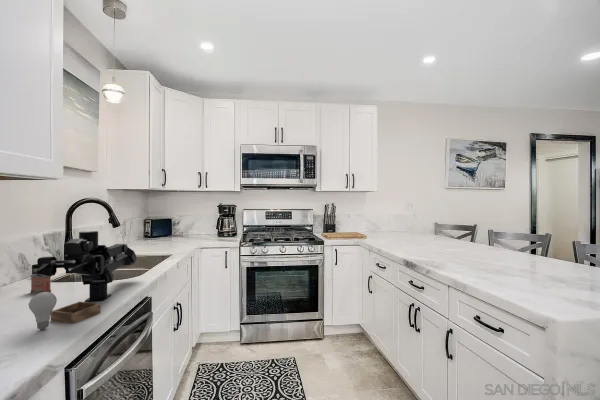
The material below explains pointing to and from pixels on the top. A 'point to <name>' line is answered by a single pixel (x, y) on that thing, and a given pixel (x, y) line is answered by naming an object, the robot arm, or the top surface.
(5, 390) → the top surface
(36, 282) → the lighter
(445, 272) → the top surface
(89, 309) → the frame
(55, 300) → the lightbulb
